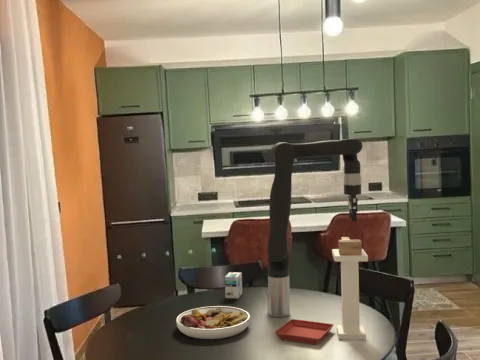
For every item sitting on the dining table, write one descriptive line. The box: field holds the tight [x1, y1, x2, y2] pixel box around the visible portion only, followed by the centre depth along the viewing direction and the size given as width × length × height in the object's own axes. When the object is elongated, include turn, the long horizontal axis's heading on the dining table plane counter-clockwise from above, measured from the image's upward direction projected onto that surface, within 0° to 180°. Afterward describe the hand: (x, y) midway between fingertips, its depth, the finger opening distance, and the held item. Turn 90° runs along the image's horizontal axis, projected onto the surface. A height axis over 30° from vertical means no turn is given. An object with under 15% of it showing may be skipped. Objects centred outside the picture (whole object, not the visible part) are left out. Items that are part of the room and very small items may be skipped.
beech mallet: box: [338, 236, 363, 255], centre depth 204 cm, size 23×8×5 cm, turn 174°
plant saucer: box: [274, 318, 334, 345], centre depth 201 cm, size 18×18×3 cm
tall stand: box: [331, 248, 369, 340], centre depth 199 cm, size 14×12×32 cm
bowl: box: [175, 305, 251, 340], centre depth 212 cm, size 30×30×8 cm
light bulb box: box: [224, 271, 243, 299], centre depth 259 cm, size 11×7×11 cm, turn 168°
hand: (352, 220), depth 230 cm, fingers open, 8 cm apart
